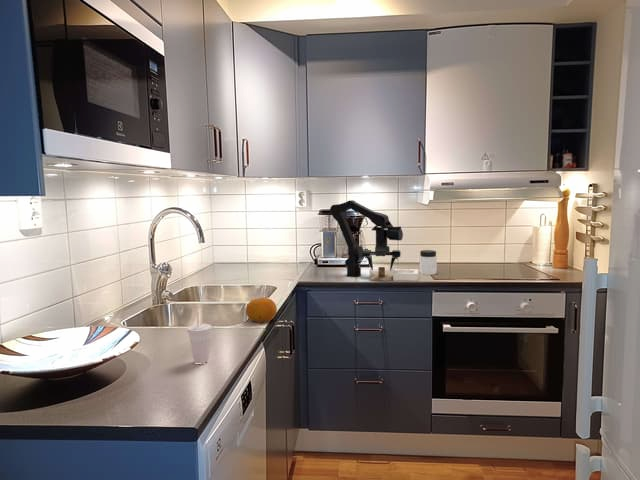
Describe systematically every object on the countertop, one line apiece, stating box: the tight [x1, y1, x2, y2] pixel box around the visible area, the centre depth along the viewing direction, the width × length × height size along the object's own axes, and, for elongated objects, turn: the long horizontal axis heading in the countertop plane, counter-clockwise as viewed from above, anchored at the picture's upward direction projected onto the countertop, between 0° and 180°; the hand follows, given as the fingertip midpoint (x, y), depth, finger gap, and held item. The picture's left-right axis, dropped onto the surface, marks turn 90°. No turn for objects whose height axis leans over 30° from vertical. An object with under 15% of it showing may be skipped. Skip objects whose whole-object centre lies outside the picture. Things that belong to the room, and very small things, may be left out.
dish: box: [392, 268, 419, 282], centre depth 227 cm, size 12×12×4 cm
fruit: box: [245, 297, 278, 323], centre depth 159 cm, size 10×10×8 cm
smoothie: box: [186, 311, 213, 364], centre depth 121 cm, size 6×6×14 cm
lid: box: [369, 266, 393, 282], centre depth 228 cm, size 10×10×6 cm
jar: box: [419, 249, 438, 276], centre depth 240 cm, size 9×8×12 cm
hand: (381, 270), depth 228 cm, fingers open, 9 cm apart
